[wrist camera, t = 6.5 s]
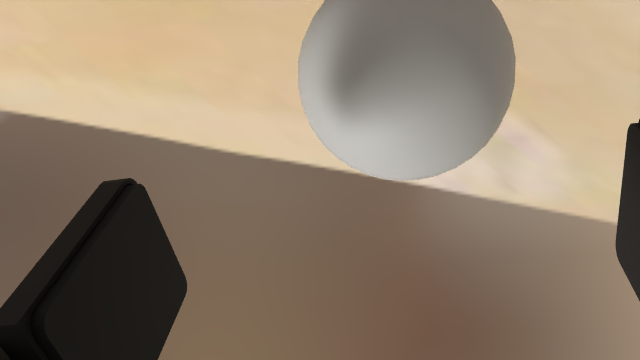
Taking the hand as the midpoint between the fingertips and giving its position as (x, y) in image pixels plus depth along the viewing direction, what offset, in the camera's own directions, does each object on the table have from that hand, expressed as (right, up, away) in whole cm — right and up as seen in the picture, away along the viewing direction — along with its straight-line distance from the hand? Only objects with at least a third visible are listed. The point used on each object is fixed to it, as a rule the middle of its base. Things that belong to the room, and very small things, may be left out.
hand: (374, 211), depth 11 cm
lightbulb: (+2, +8, +12) cm, 14 cm away
